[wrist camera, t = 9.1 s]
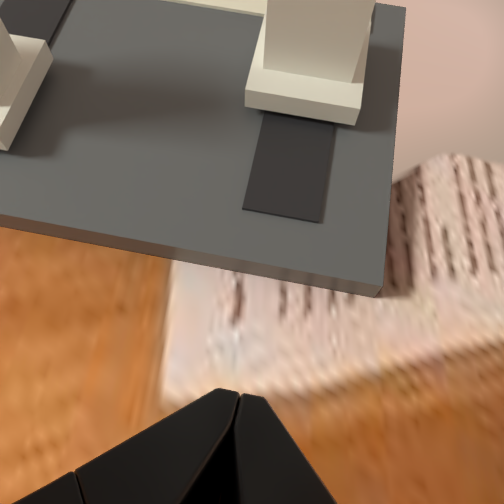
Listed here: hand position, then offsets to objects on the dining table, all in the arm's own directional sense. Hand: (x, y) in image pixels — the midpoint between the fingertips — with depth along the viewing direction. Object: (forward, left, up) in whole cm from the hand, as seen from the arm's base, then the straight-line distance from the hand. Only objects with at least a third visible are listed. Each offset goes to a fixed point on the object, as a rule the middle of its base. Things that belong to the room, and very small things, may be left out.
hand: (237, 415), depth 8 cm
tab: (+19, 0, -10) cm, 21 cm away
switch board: (+17, +8, -13) cm, 22 cm away
